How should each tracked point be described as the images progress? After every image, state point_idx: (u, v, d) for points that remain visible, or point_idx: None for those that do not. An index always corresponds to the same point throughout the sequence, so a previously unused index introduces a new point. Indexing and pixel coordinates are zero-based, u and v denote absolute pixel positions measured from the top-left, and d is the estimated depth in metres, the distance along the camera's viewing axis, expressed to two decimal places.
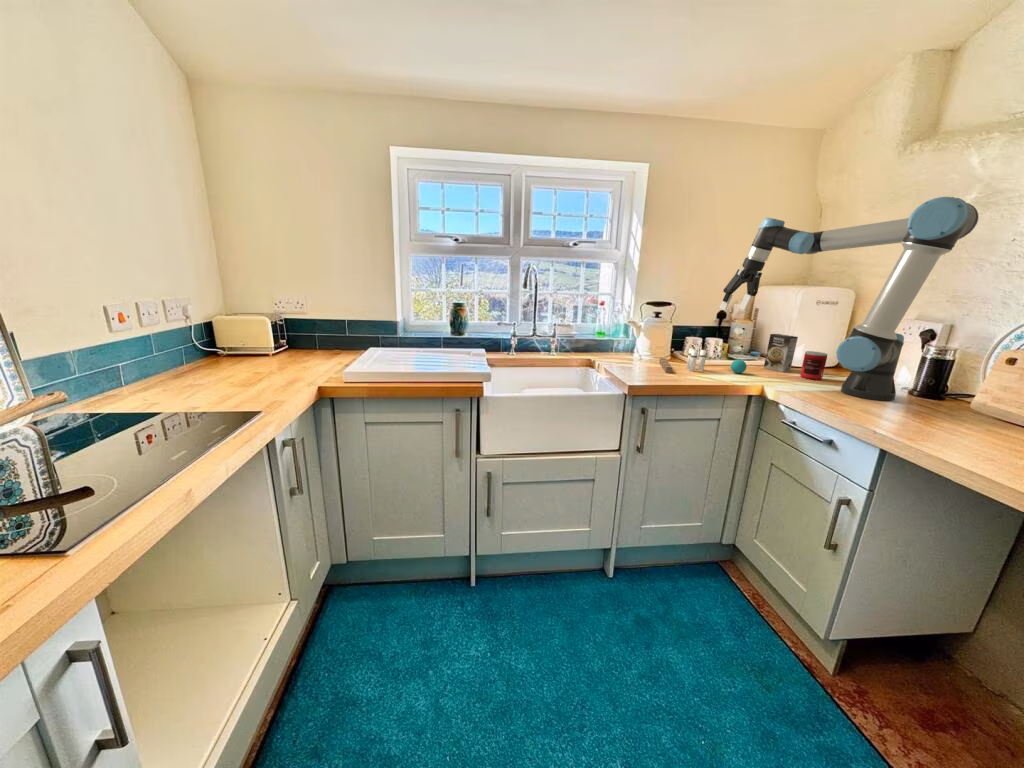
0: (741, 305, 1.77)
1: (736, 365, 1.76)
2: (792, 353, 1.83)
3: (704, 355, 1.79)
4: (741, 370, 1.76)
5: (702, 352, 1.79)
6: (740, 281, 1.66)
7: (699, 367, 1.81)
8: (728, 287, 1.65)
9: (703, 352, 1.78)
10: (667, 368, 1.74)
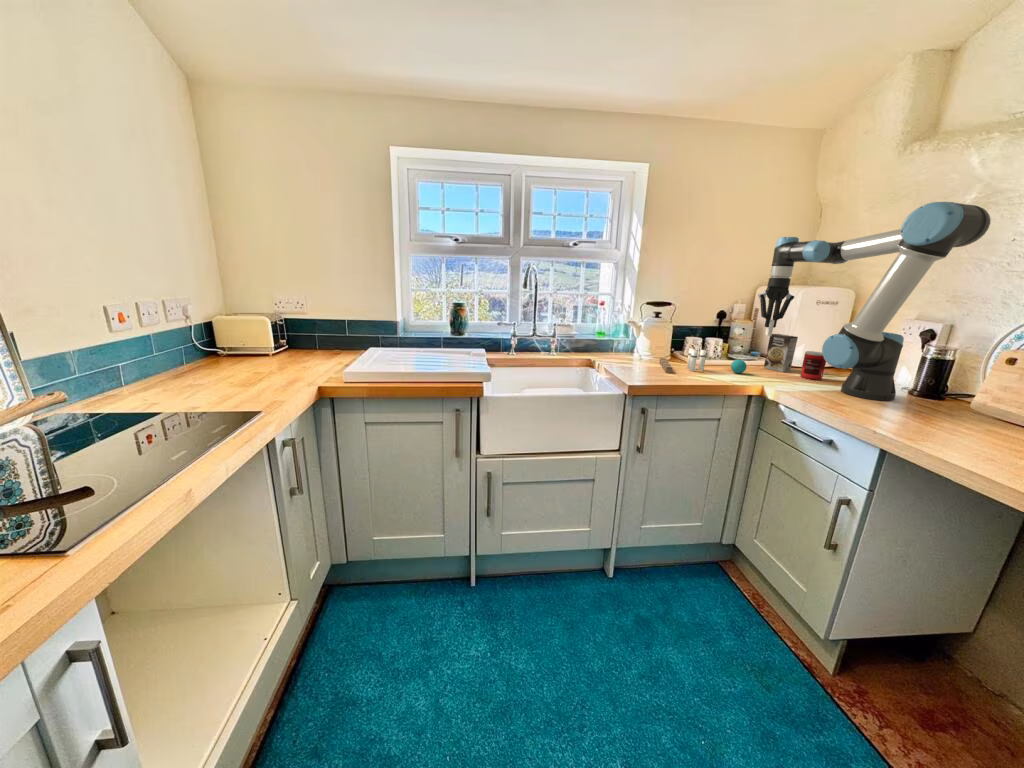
0: None
1: (736, 365, 1.76)
2: (792, 353, 1.83)
3: (704, 355, 1.79)
4: (741, 370, 1.76)
5: (702, 352, 1.79)
6: (770, 303, 1.69)
7: (699, 367, 1.81)
8: (762, 313, 1.71)
9: (703, 352, 1.78)
10: (667, 368, 1.74)
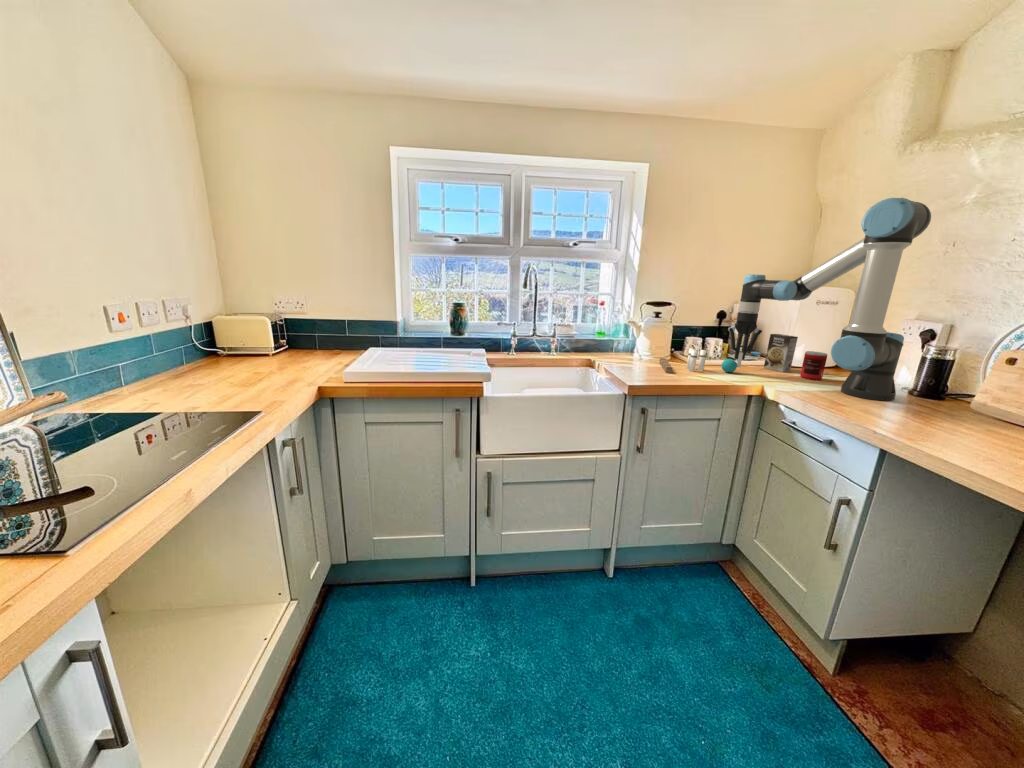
0: None
1: (726, 368, 1.77)
2: (792, 353, 1.83)
3: (704, 355, 1.79)
4: (734, 367, 1.76)
5: (702, 352, 1.79)
6: (739, 336, 1.75)
7: (699, 367, 1.81)
8: (731, 345, 1.77)
9: (703, 352, 1.78)
10: (667, 368, 1.74)
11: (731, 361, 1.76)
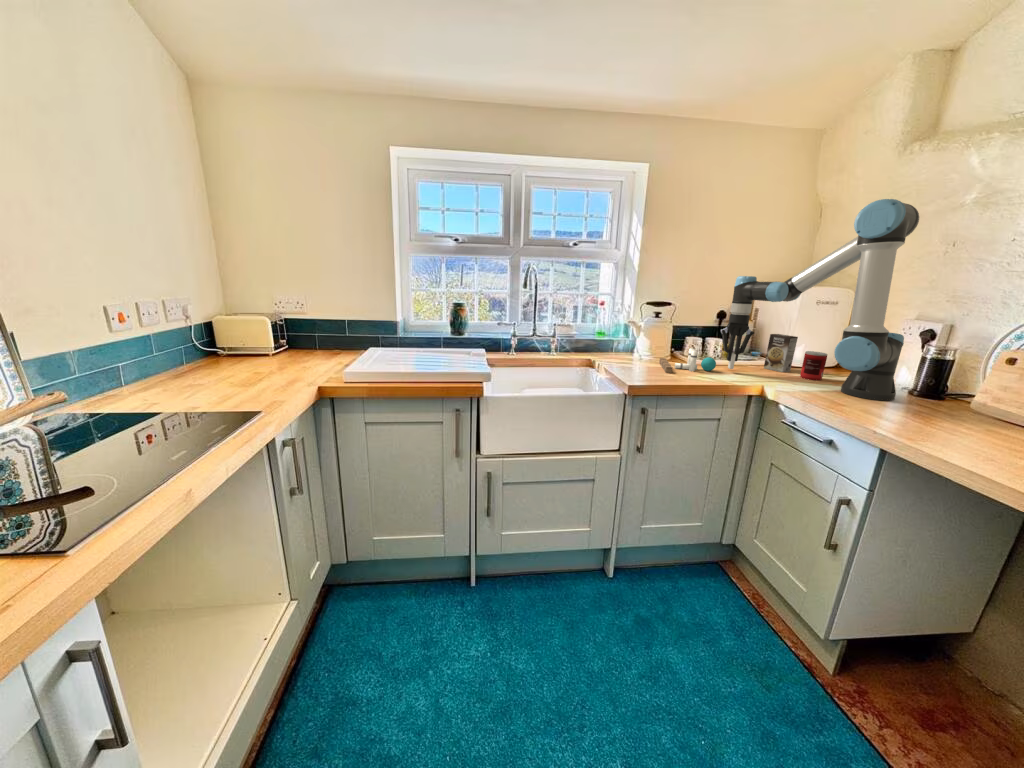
0: None
1: (714, 365, 1.78)
2: (792, 353, 1.83)
3: (680, 365, 1.82)
4: (707, 363, 1.78)
5: (677, 367, 1.83)
6: (731, 338, 1.75)
7: None
8: (724, 347, 1.77)
9: (677, 366, 1.82)
10: (667, 368, 1.74)
11: (706, 369, 1.79)
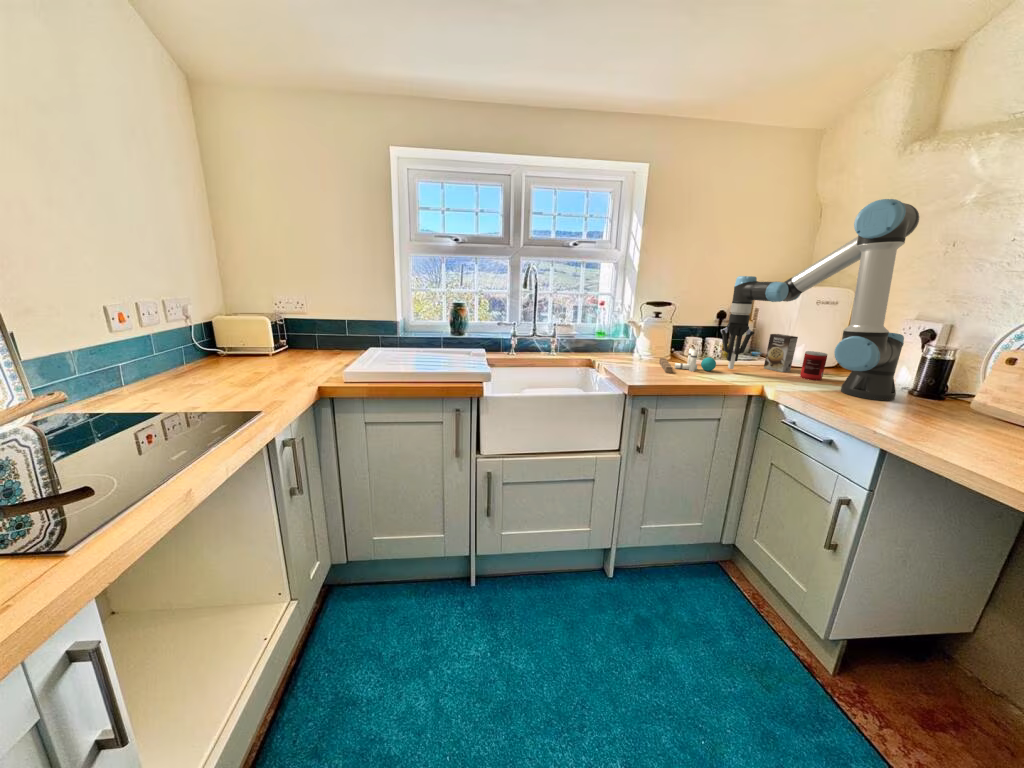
0: None
1: (714, 365, 1.78)
2: (792, 353, 1.83)
3: (680, 365, 1.82)
4: (707, 363, 1.78)
5: (677, 367, 1.83)
6: (731, 338, 1.75)
7: None
8: (724, 347, 1.77)
9: (677, 366, 1.82)
10: (667, 368, 1.74)
11: (706, 369, 1.79)
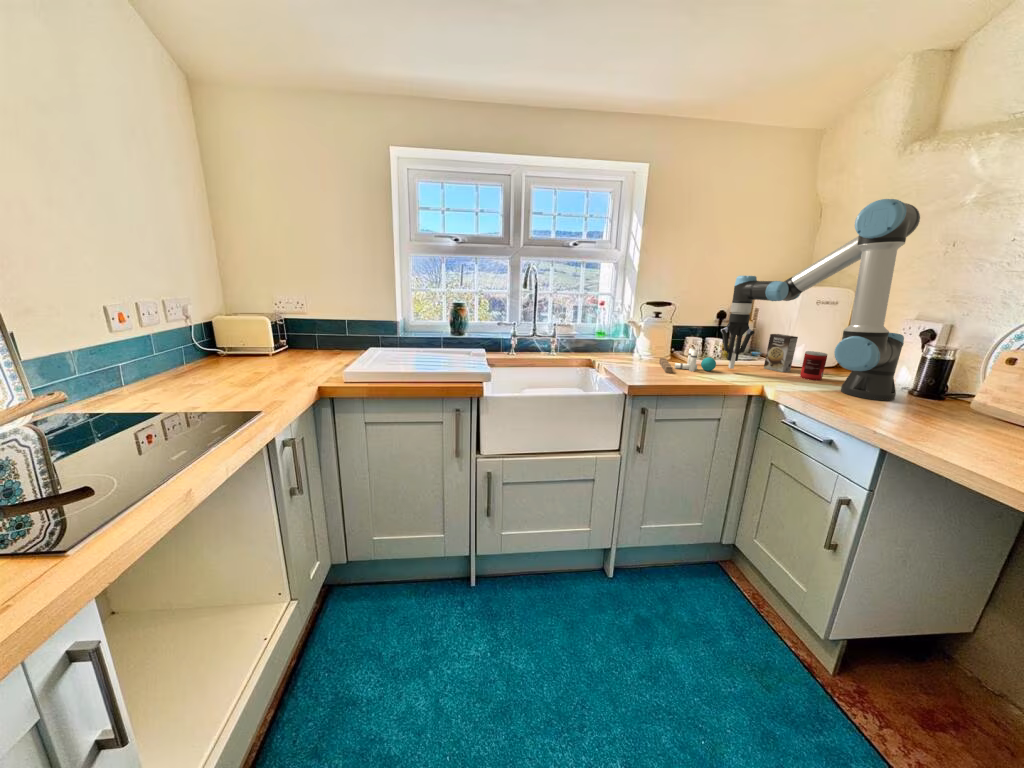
0: None
1: (714, 365, 1.78)
2: (792, 353, 1.83)
3: (680, 365, 1.82)
4: (707, 363, 1.78)
5: (677, 367, 1.83)
6: (731, 337, 1.75)
7: None
8: (724, 347, 1.77)
9: (677, 366, 1.82)
10: (667, 368, 1.74)
11: (706, 369, 1.79)
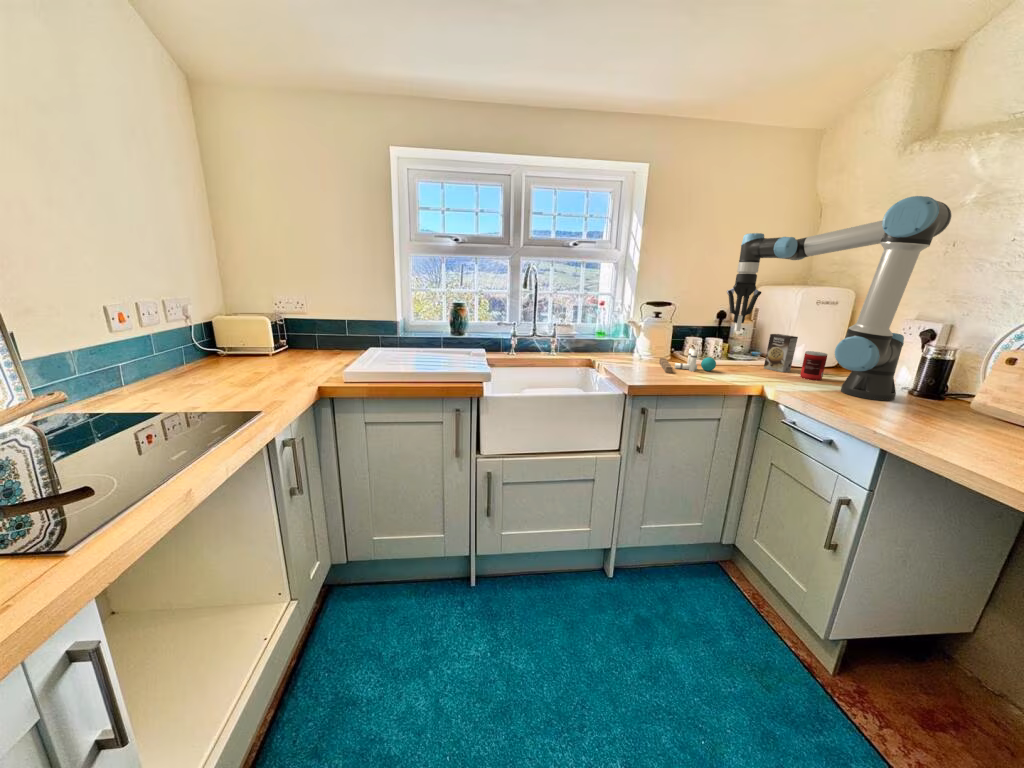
0: None
1: (714, 365, 1.78)
2: (792, 353, 1.83)
3: (680, 365, 1.82)
4: (707, 363, 1.78)
5: (677, 367, 1.83)
6: (738, 299, 1.71)
7: None
8: (730, 309, 1.73)
9: (677, 366, 1.82)
10: (667, 368, 1.74)
11: (706, 369, 1.79)
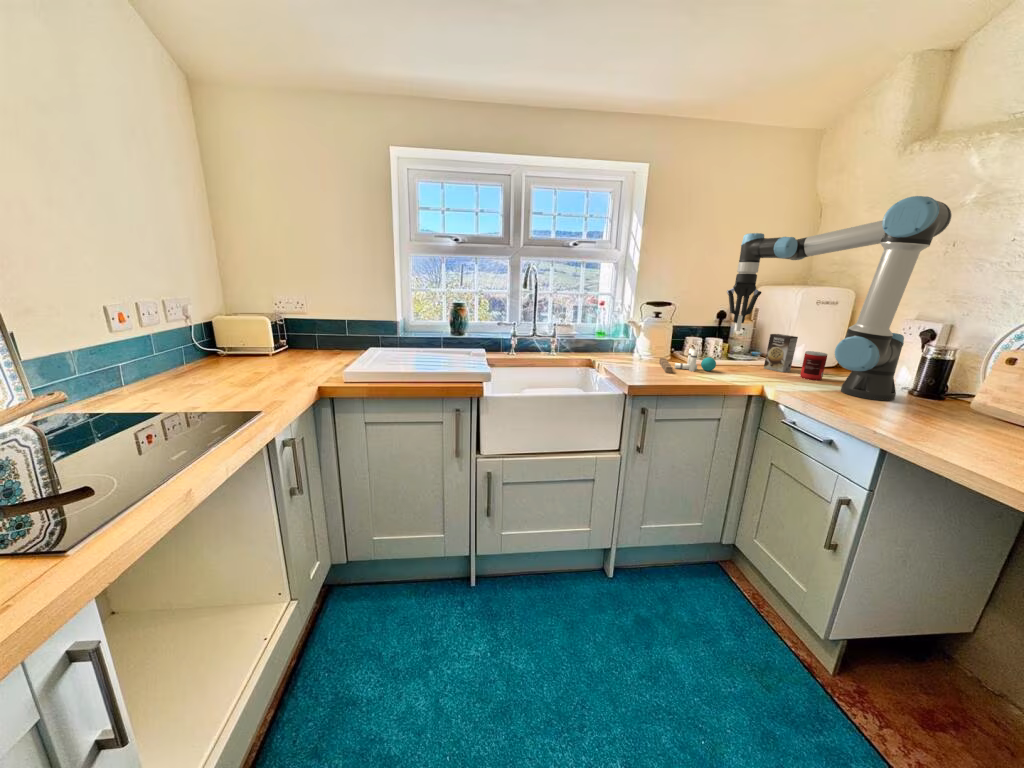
0: None
1: (714, 365, 1.78)
2: (792, 353, 1.83)
3: (680, 365, 1.82)
4: (707, 363, 1.78)
5: (677, 367, 1.83)
6: (738, 299, 1.71)
7: None
8: (730, 309, 1.73)
9: (677, 366, 1.82)
10: (667, 368, 1.74)
11: (706, 369, 1.79)
